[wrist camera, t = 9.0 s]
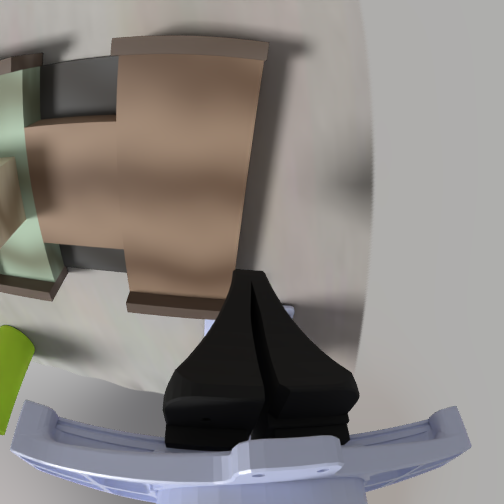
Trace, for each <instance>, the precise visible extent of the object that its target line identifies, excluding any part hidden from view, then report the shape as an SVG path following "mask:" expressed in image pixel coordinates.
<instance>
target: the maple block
mask: <svg viewBox="0 0 504 504" xmlns="http://www.w3.org/2000/svg"><path fill="white" fill-rule="evenodd" d="M25 220H26V215H25V211H24V206H23V201H22V196H21V191H20V186H19V180H18V174H17V168H16V161H15V157H3V158H0V249H1V247H2V246H3V245H4V244H5V243H6V242H7V240H8V239H9V238H10V237H11V236H12V235H13V233H14V232H15V231H16V230H17V229H18V228H19V227H20V226H21V225H22V223H23V222H24V221H25Z"/></svg>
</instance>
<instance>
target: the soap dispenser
mask: <svg viewBox="0 0 504 504" xmlns="http://www.w3.org/2000/svg"><path fill="white" fill-rule="evenodd" d="M34 352H35V348H34V346H33V344H32V342H31V341H30V340H29V339H28V338H27V337H26V336H25V335H24V334H23V333H22V332H20V331H19V330H17V329H15V328H13V327H11V326H7V325H3V326H1V327H0V435H5V432H6V428H7V425H8V422H9V419H10V415H11V412H12V409H13V406H14V403H15V401H16V398H17V395H18V392H19V389H20V386H21V384H22V381H23V379H24V376H25V373H26V371H27V369H28V366H29V363H30V361H31V359H32V356H33V354H34Z"/></svg>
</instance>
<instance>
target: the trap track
mask: <svg viewBox="0 0 504 504" xmlns="http://www.w3.org/2000/svg"><path fill="white" fill-rule="evenodd" d="M268 48H269V42H262V41H254V40H245V39H236V38H224V37H210V36H182V35H162V36H135V37H121V38H112V44H111V57H100V58H91V59H82V60H75V61H68V62H61V63H55V64H50V65H44V66H42V62H43V53H37V54H29V55H21V56H15V57H10V58H6V59H3V60H0V158H3V157H15V161H16V168H17V174H18V180H19V186H20V191H21V196H22V201H23V206H24V211H25V215H26V220H25V221H24V222H23V223H22V225H21V226H20V227H19V228H18V229H17V230H16V231H15V232H14V233H13V235H12V236H11V237H10V238H9V239H8V240H7V242H6V243H5V244H4V245H3V246H2V247H1V249H0V292H3V293H8V294H13V295H18V296H24V297H29V298H35V299H40V300H46V301H53V299H54V297H55V296H56V294H57V292H58V290H59V288H60V286H61V285H62V283H63V281H64V279H65V277H66V276H67V274H68V271H67V267H76V268H85V269H95V270H105V271H115V272H125V273H127V276H128V282H129V289H130V293H129V295H128V298H127V301H126V305H127V311H128V312H132V313H141V314H150V315H160V316H171V317H182V318H194V319H207V320H216V318H217V316H218V314H219V312H220V310H221V308H222V306H223V304H224V302H225V300H226V297H227V294H228V292H229V289H230V286H231V282H232V273H233V271H234V270H235V266H236V258H237V250H238V243H239V235H240V227H241V220H242V212H243V205H244V197H245V190H246V183H247V176H248V168H249V161H250V154H251V147H252V140H253V133H254V126H255V119H256V112H257V105H258V98H259V92H260V85H261V78H262V71H263V65H264V61H267V54H268ZM66 266H67V267H66Z"/></svg>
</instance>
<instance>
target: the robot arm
mask: <svg viewBox="0 0 504 504" xmlns="http://www.w3.org/2000/svg"><path fill="white" fill-rule="evenodd" d="M293 315H294V307H292V306H285V305H282V304H281V302H280V300H279V299H278V297H277V296H276V294H275V292H274V290H273V289H272V287H271V285H270V283H269V281H268V279H267V277H266V275H265V273H264V272H263V271H254V270H240V269H235V270H234V271H233V273H232V282H231V286H230V289H229V292H228V294H227V297H226V300H225V302H224V304H223V306H222V308H221V310H220V312H219V314H218V316H217V318H216V320H207V319H205V330H204V338H203V340H202V341H201V342H200V344H199V345H198V346H197V347H196V348H195V350H194V351H193V352H192V353H191V354H190V355H189V357H188V358H187V359H186V360H185V361H184V362H183V363H182V364H181V365H180V366H179V367H178V368H177V369H176V370H175V371H174V373H173V375H172V377H171V379H170V381H169V383H168V386H167V388H166V391H165V395H164V402H163V413H164V417H165V421H166V432H165V437H158V436H151V435H143V434H136V433H130V432H125V431H118V430H113V429H109V428H104V427H99V426H94V425H90V424H85V423H81V422H77V421H73V420H69V419H66V418H61V417H58V415H57V414H56V412H55V411H54V410H53V409H51V408H50V407H47V406H45V405H42V404H39V403H35V402H32V401H29V400H25V401H24V404H23V407H22V410H21V413H20V416H19V419H18V423H17V426H16V429H15V433H14V437H13V440H12V444H11V448H10V450H11V451H12V452H13V453H14V454H16V455H17V456H18V457H20V458H21V459H22V460H24V461H25V462H27V463H28V464H30V465H31V466H33V467H34V468H36V469H37V470H40V471H42V472H45V473H48V474H51V475H54V476H56V477H59V478H62V479H65V480H68V481H71V482H74V483H77V484H80V485H84V486H87V487H90V488H93V489H97V490H100V491H104V492H108V493H112V494H115V495H120V496H124V497H128V498H133V499H137V500H142V501H147V502H153V503H157V504H367V499H366V493H365V492H368V491H372V490H375V489H378V488H382V487H385V486H388V485H391V484H394V483H397V482H400V481H403V480H406V479H409V478H412V477H415V476H417V475H420V474H423V473H425V472H428V471H431V470H434V469H436V468H439V467H441V466H443V465H445V464H446V463H448V462H450V461H451V460H453V459H455V458H456V457H458V456H459V455H461V454H462V453H464V452H465V451H467V450H468V449H470V448H471V443H470V440H469V437H468V435H467V432H466V429H465V427H464V424H463V421H462V419H461V416H460V414H459V411H458V409H457V406H452V407H449V408H446V409H442V410H439V411H437V412H435V413H434V414H433V415H432V416H431V417H429V419H427V420H423V421H419V422H415V423H411V424H406V425H402V426H398V427H393V428H388V429H382V430H377V431H372V432H365V433H359V434H353V435H349V431H348V427H347V423H348V422H349V417H348V412H349V411H350V410H351V409H352V407H353V406H354V405H355V404H356V402H357V401H358V399H359V391H358V388H357V384H356V382H355V379H354V377H353V375H352V373H351V372H350V371H348V370H347V369H345V368H344V367H342V366H341V365H339V364H338V363H336V362H335V361H334V360H332V359H331V358H330V357H329V356H327V355H326V354H325V353H324V352H322V351H321V350H320V349H319V348H318V347H317V346H316V345H315V344H314V343H313V342H312V341H311V340H310V339H309V338H308V337H307V336H306V335H305V334H304V333H303V332H302V331H301V329H300V328H299V327H298V326H297V325H296V323H295V322H294V321H293V320H292V318H293Z"/></svg>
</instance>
